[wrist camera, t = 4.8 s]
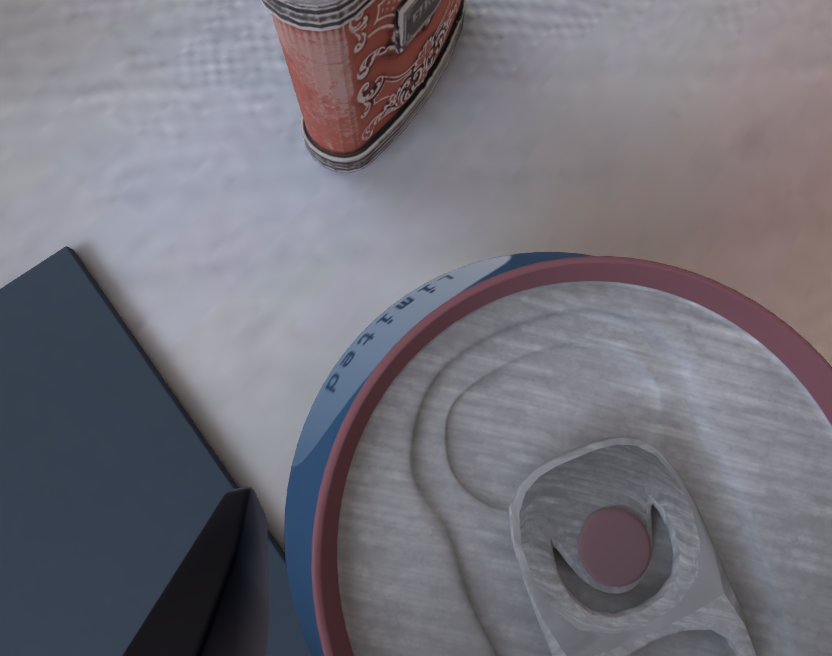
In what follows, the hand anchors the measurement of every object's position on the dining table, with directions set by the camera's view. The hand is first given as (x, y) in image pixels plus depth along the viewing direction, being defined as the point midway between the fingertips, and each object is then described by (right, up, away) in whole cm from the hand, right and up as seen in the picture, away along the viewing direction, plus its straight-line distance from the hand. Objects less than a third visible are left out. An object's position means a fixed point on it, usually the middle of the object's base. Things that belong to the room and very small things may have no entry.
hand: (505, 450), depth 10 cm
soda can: (0, -2, +7) cm, 8 cm away
